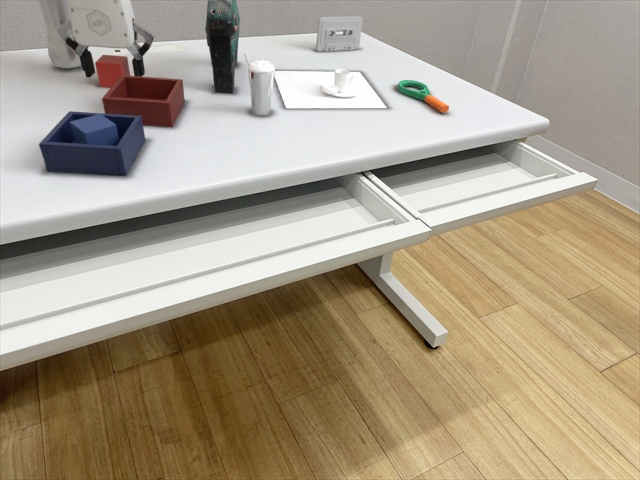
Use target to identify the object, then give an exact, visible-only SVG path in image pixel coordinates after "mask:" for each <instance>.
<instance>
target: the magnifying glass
mask: <svg viewBox="0 0 640 480" xmlns="http://www.w3.org/2000/svg"><path fill="white" fill-rule="evenodd" d="M407 87H415V88H419V90H418V89H410V88H407ZM428 87H429V86H428V85H427V84H425V83H424V82H421V81H418V80H413V79H403V80H400V81H399V82H398V84H397V90H398V91H399V92H400V93H401V94H403V95H406V96H409V97H412V98H415V99H418V100H421V101H423V102H425V103H427V104H429V105H430V106H431V107H433V108H435V109H436V110H437V111H439V112H440V113H447V112H448V111H449V110H450V106H449V105H448V104H447V103H445V102H443V101H441V100H440V99H439V98H437V97H435V96H434V95H432V94H431V92H430V89H429V88H428Z"/></svg>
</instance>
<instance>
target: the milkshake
mask: <svg viewBox="0 0 640 480" xmlns="http://www.w3.org/2000/svg"><path fill="white" fill-rule="evenodd" d="M243 56H244V59H245V61H246V64H247V71H248V79H249V89H250V100H251V112H252V113H251V114H253V115H254V116H259V117H265V116H268V115H270V113H271V106H272V94H273V86H274V79H275V77H274V71H276V68H275V66H274V65H273V64H272V62H271V61H269V60H265V59H263V58H262V59H260V60H254V61H251V62H250V63H249V60H248V58H247V56H246V53H243Z"/></svg>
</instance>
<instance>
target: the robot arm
mask: <svg viewBox="0 0 640 480" xmlns="http://www.w3.org/2000/svg"><path fill="white" fill-rule="evenodd" d="M69 10H70V18H71V20H69V21H68V22H66V23H65V24H63V25H62V26H60V27H59V28H58V29H57V32H58V33H59V34H60V35H61V37H62V38H63V39H64V40H65V41H66V44H67V45H68V46H70V47H71V48H72V49H73V50H74V51H75V53H76V54H77V55H78V56H79V57H80V62H81V66H80V67H81V69H82V72H84V74H85V78H92V77H93V75H94V74H96V69H95V68H96V66H95V62H94V59H93V53H92V52H91V51H90V50H89V47H90V48H91V47H93V48H107V49H121V50H123V49H126V50H127V51H128V52H129V53H130V54H131V55H132V60H131V63H132V64H131V65H132V70H133V76H141V77H144V76H145V75H146V70H145V63H144V56H145V54H146V53H148V51H149V50H150V48H151V47H152V45H153V44H154V41H155V39H156V34H155V33H154V32H152V30H149V28H147V27H145V26H143V25H142V24H141V23H139V22H137V21H136V17H135V13H134V9H133V5H132V2H131V0H69ZM71 29H72V30H73V34H74V37H73V36H72V35H71V33H70V30H71ZM139 35H140V36H141V37H143V38H144V41H143V44H142V45H140V44H139V43H138V38H139Z"/></svg>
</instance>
